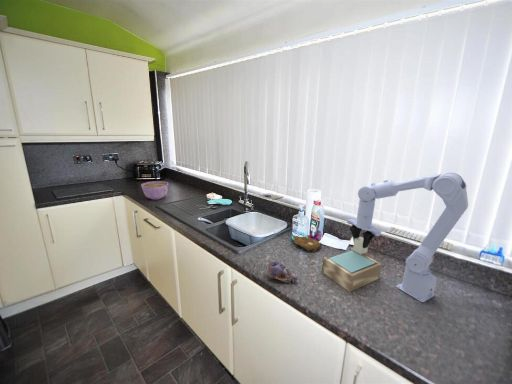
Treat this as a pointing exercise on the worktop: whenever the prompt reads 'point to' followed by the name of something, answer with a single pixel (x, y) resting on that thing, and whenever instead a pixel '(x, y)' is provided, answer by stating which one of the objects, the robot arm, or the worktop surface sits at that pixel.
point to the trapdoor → (352, 261)
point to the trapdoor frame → (349, 279)
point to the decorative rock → (307, 243)
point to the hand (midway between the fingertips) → (360, 245)
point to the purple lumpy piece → (281, 272)
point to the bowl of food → (155, 189)
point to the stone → (359, 246)
